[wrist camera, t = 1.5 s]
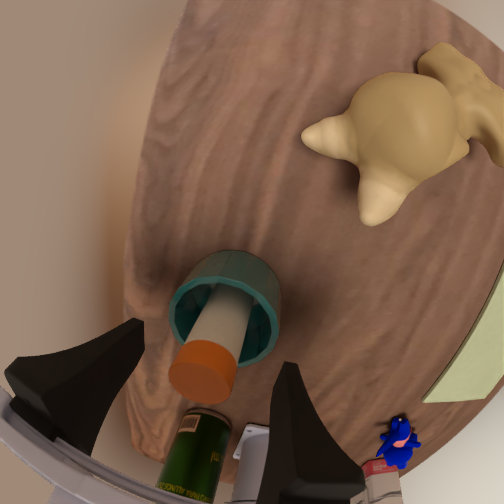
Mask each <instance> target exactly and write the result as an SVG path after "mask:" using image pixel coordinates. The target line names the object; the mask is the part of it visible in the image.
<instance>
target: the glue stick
mask: <svg viewBox="0 0 504 504" xmlns="http://www.w3.org/2000/svg"><path fill="white" fill-rule="evenodd" d="M253 300H254V298H253V296H251V295H250V294H248V293H247V292H245V291H244V290H242V289H241V288H237V287H234V286H230V285H226V284H222V283H218V284H217V285H216V286H215V288H214V289H213V291H212V293H211V295H210V297H209V299H208V301H207V302H206V304H205V306H204V308H203V310H202V312H201V313H200V315H199V317H198V319H197V321H196V323H195V325H194V326H193V328H192V330H191V332H190V334H189V336H188V338H187V340H186V341H185V343H184V345H183V346H182V347H181V349H180V350H179V352H178V354H177V356H176V358H175V360H174V362H173V364H172V365H171V367H170V369H169V374H168V375H169V380H170V383H171V384H172V386H173V387H174V389H175V390H176V391H177V392H179V393H180V394H181V395H182V396H184V397H186V398H188V399H190V400H192V401H195V402H198V403H202V404H218V403H221V402H223V401H225V400H226V399H227V398H228V397H229V396H230V394H231V391H232V387H233V384H234V380H235V376H236V372H237V364H238V360H239V356H240V353H241V349H242V345H243V341H244V337H245V333H246V329H247V325H248V321H249V317H250V314H251V310H252V306H253Z"/></svg>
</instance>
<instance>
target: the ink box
mask: <svg viewBox="0 0 504 504" xmlns="http://www.w3.org/2000/svg"><path fill="white" fill-rule="evenodd" d="M386 463H387V462H386V461H385V459H378V460H371V461H368V462H366V463H365V464H364V465H363V466H362V467H361V468H362V469H363V472H364V476H365V483H366V488H365V490H364V491H362V492H361V493H360V494H358V495H356V496H354V497H353V498H351V499H350V504H403V501H402V493H401V487H400V481H399V475H398V469H397V465H393V466H388V465H386Z"/></svg>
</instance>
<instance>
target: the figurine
mask: <svg viewBox="0 0 504 504" xmlns="http://www.w3.org/2000/svg"><path fill="white" fill-rule="evenodd" d="M411 431H412V429H411V426H410V425H409V422H408V419H403V420H402V421H401V419H400V418H397V417H396V418H394V419H393V421H392V427H391V430H390V432H389V435H384V434H382V435H381V436H380V439H382V440H385V442H384V443H383V445H382V446H381V447H380V449H379V450H378V452H377V455H376V457H377V456H379V455H381V454H382V453H384V455H383V457H384V459H385V461H386V462H387V463H386V465H388V466H393V465H397V467H398V469H404V468H405V467H406V466H407V461H408V460H409V459H410V458H411V456H412V454H413V451H412V449H413V447H416V448H419V447H420V446H421V443H420V442H417V434H415V433H412V432H411Z"/></svg>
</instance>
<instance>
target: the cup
mask: <svg viewBox="0 0 504 504" xmlns="http://www.w3.org/2000/svg"><path fill="white" fill-rule="evenodd" d="M218 283H222V284H226V285H230V286H234V287H237V288H241V289H242V290H244V291H245V292H247V293H248V294H250V295H251V296H253V298H254V300H253V306H252V310H251V314H250V317H249V321H248V325H247V329H246V333H245V337H244V341H243V345H242V349H241V353H240V356H239V360H238V364H237V367H246V366H248V365H251V364H254V363H257V362H259V361H261V360H262V359H263V358H264V357H266V356H267V355H268V354H269V353H270V352H271V351H272V350H273V349H274V346H275V344H276V341H277V338H278V335H279V329H280V316H281V303H282V300H281V289H280V284H279V282H278V279H277V277H276V275H275V274H274V272H273V271H272V270H271V268H270V267H269V266H268V265H267V264H266V263H264V262H263V261H262V260H260V259H259V258H257V257H255V256H253V255H251V254H249V253H245V252H241V251H234V250H227V251H220V252H216V253H213V254H211V255H209V256H207V257H206V258H204V259H203V260H202V261H201V262H200V263H198V264H197V265H196V267H195V268H194V269H193V270H192V272H191V273H190V274H189V275H188V277H187V278H186V279H185V280H184V282H183V283H182V284H181V286H180V287H179V288H178V290H177V291H176V293H175V294H174V296H173V298H172V299H171V301H170V303H169V318H168V320H169V323H170V326H171V329H172V331H173V334H174V336H175V338H176V339H177V340H178V341H179V343H180V344H181V345H182V346H183V345H184V343H185V341H186V340H187V338H188V336H189V334H190V332H191V330H192V328H193V326H194V325H195V323H196V321H197V319H198V317H199V315H200V313H201V312H202V310H203V308H204V306H205V304H206V302H207V301H208V299H209V297H210V295H211V293H212V291H213V289H214V288H215V286H216V285H217V284H218Z"/></svg>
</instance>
